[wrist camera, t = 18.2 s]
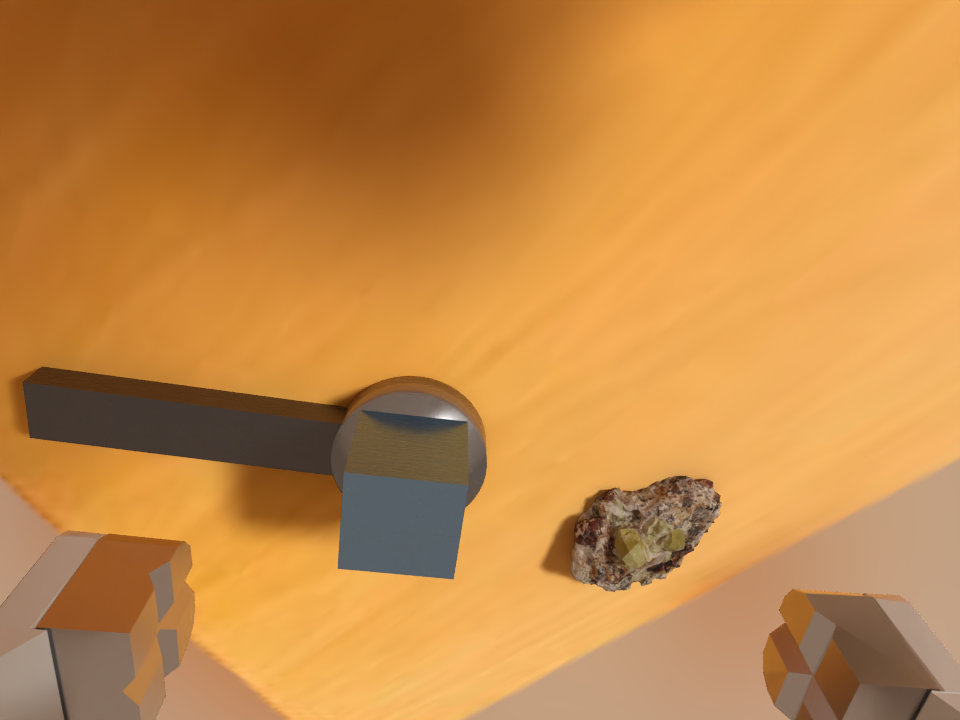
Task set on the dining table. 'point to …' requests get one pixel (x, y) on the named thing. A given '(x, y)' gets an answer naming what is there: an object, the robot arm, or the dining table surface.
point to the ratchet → (233, 420)
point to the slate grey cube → (404, 495)
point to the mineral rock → (642, 532)
